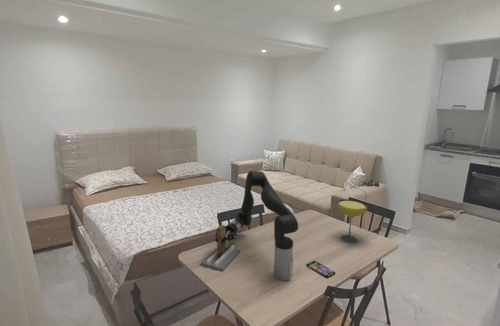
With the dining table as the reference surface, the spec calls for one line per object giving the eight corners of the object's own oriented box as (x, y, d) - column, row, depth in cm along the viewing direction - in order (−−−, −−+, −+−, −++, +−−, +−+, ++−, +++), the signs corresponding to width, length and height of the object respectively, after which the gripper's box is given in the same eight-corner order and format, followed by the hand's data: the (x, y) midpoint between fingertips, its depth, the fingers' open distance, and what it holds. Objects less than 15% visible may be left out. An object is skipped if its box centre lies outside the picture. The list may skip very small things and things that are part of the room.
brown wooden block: (225, 251, 164) (225, 225, 160) (221, 255, 159) (221, 229, 156) (221, 250, 165) (221, 224, 161) (217, 254, 160) (216, 228, 157)
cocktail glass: (368, 239, 188) (372, 204, 183) (354, 248, 176) (358, 211, 171) (343, 230, 201) (346, 197, 196) (329, 238, 189) (332, 203, 184)
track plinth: (240, 252, 170) (240, 246, 169) (223, 271, 150) (223, 265, 149) (220, 247, 175) (220, 241, 174) (200, 265, 155) (200, 259, 155)
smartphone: (314, 260, 161) (336, 272, 150) (314, 261, 162) (336, 274, 150) (305, 264, 157) (327, 277, 145) (305, 266, 157) (327, 279, 145)
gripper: (222, 220, 175) (207, 232, 159) (243, 225, 170) (230, 237, 154) (222, 232, 176) (208, 244, 161) (242, 236, 171) (229, 249, 156)
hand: (218, 240), depth 158 cm, fingers closed on brown wooden block, 3 cm apart
